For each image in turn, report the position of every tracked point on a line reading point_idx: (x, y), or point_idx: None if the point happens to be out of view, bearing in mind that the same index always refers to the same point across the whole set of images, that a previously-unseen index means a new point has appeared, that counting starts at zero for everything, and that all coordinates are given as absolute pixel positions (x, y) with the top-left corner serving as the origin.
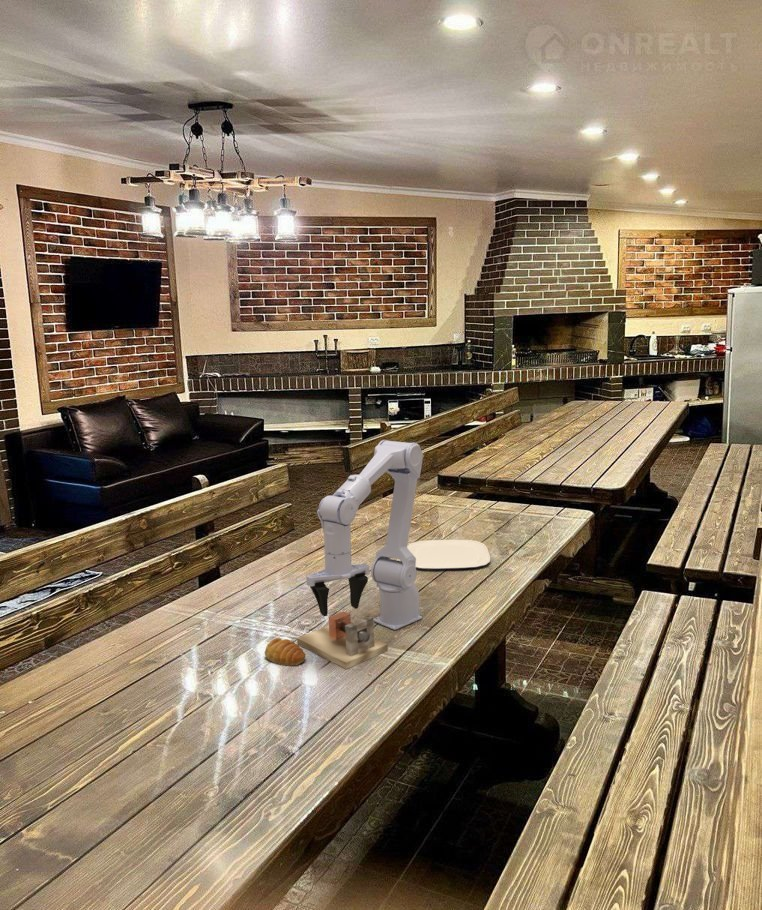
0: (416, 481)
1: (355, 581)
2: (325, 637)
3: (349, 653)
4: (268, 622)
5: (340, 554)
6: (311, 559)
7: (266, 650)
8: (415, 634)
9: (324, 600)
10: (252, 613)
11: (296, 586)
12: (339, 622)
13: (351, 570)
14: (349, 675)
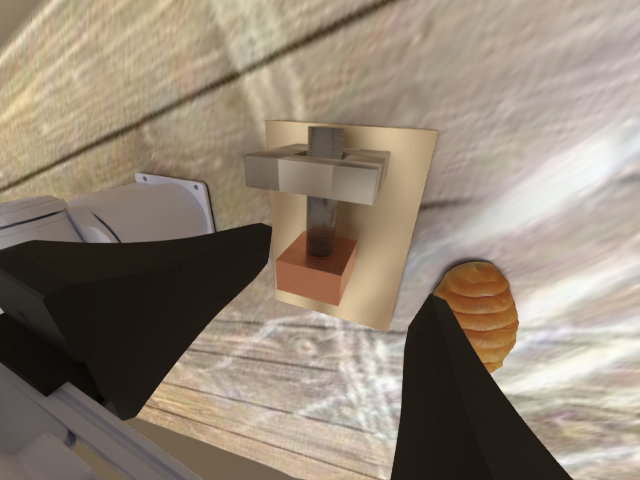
0: None
1: (123, 332)
2: None
3: (388, 161)
4: (351, 397)
5: None
6: (188, 410)
7: (502, 361)
8: (180, 129)
9: (491, 394)
10: (343, 425)
11: (241, 402)
12: (328, 263)
13: None
14: (470, 86)
